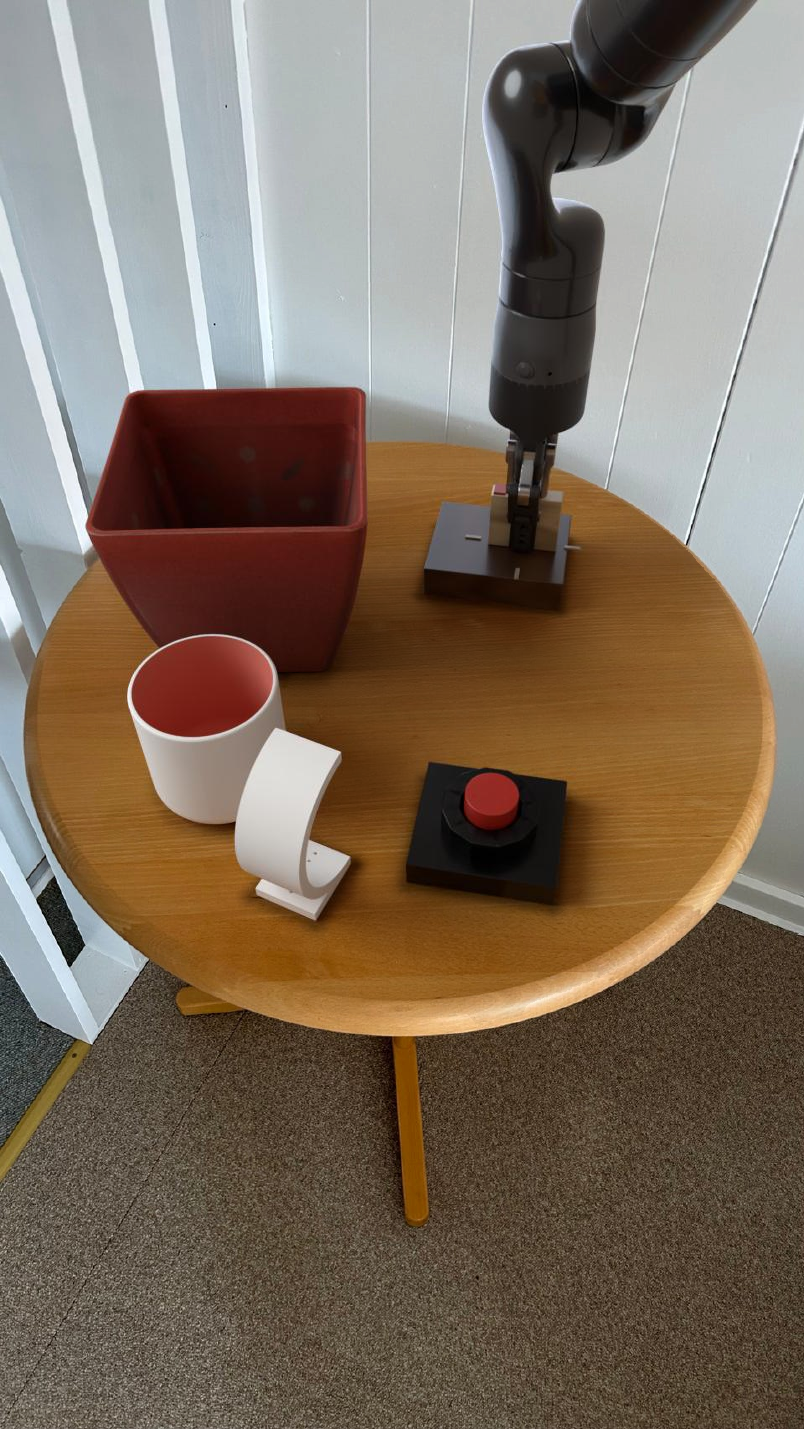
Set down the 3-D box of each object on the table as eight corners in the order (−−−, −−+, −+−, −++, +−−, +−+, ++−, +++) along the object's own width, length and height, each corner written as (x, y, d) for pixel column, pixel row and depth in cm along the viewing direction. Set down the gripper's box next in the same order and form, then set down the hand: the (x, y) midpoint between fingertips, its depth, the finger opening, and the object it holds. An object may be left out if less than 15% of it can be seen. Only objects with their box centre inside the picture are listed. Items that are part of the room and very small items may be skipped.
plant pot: (372, 550, 90) (366, 382, 78) (375, 699, 77) (367, 527, 65) (167, 555, 90) (127, 388, 77) (134, 706, 77) (80, 535, 64)
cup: (285, 832, 69) (269, 741, 61) (144, 832, 69) (112, 740, 61) (297, 727, 75) (284, 633, 68) (169, 726, 75) (142, 632, 68)
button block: (563, 799, 70) (570, 764, 67) (553, 905, 64) (560, 872, 61) (428, 780, 72) (429, 745, 69) (405, 882, 66) (405, 848, 63)
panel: (579, 541, 91) (584, 513, 88) (571, 613, 84) (576, 585, 82) (441, 526, 92) (442, 499, 90) (423, 595, 86) (423, 567, 83)
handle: (557, 540, 86) (564, 489, 82) (555, 552, 85) (562, 500, 81) (489, 533, 87) (493, 482, 83) (487, 544, 86) (491, 492, 82)
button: (520, 792, 66) (522, 776, 65) (514, 834, 64) (516, 819, 63) (467, 784, 67) (469, 768, 66) (460, 826, 64) (461, 810, 63)
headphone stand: (351, 863, 67) (341, 752, 58) (307, 933, 63) (290, 826, 54) (293, 839, 68) (275, 727, 59) (248, 906, 65) (221, 798, 56)
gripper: (585, 408, 68) (558, 596, 81) (596, 318, 77) (570, 500, 90) (479, 398, 69) (469, 586, 82) (502, 311, 78) (490, 492, 91)
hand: (522, 540), depth 86 cm, fingers closed on handle
